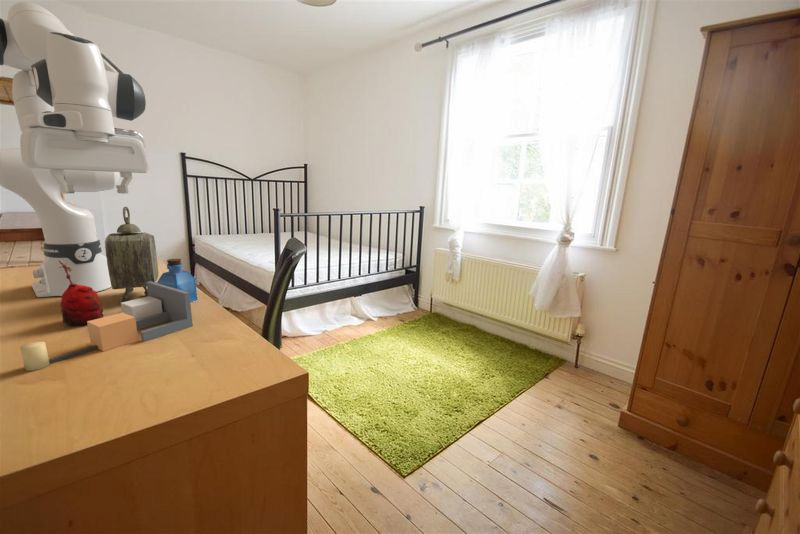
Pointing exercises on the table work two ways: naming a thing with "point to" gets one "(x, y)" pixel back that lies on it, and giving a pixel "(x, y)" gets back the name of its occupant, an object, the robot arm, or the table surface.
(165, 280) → the perfume bottle
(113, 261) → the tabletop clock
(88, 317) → the red clay folk toy
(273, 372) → the table surface
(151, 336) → the lane rack
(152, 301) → the white block
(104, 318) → the tan block and knob
